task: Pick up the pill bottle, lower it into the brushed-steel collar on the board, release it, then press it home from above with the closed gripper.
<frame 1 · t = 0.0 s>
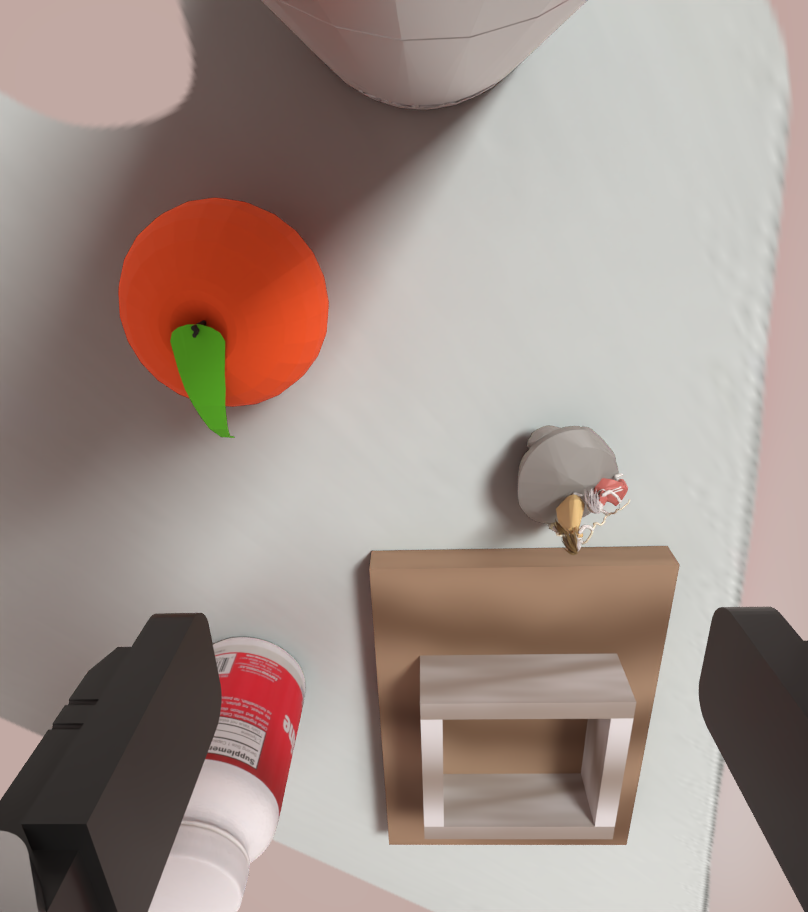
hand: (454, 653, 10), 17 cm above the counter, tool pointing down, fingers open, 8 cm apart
bottle holder: (510, 701, 34), on the counter
pill bottle: (251, 673, 34), on the counter
figurine: (559, 463, 28), on the counter
clementine: (255, 299, 25), on the counter
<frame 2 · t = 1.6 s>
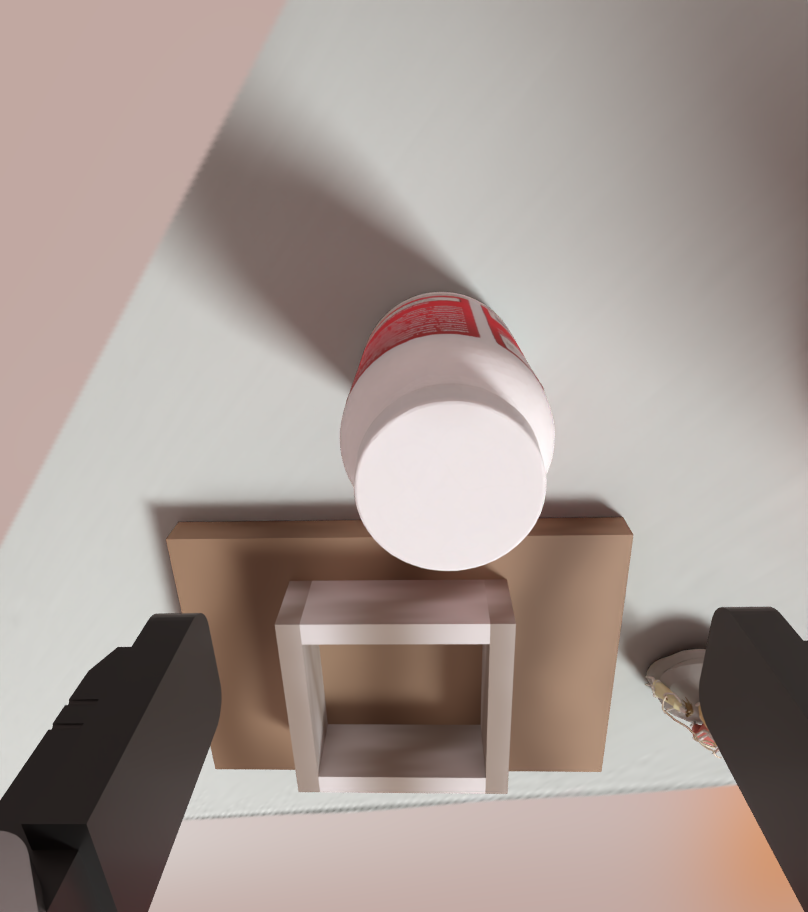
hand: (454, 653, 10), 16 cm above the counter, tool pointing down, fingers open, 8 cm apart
bottle holder: (402, 643, 31), on the counter
pill bottle: (440, 365, 25), on the counter
figurine: (689, 665, 31), on the counter
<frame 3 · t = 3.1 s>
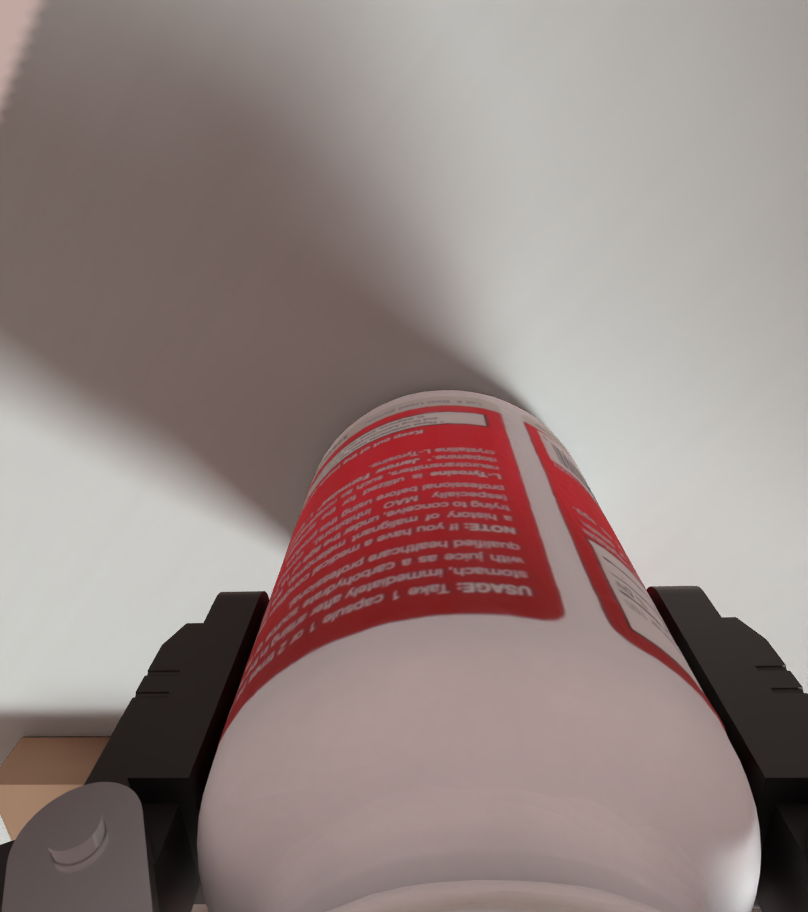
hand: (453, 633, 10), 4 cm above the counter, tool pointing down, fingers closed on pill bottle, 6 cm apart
bottle holder: (387, 895, 20), on the counter
pill bottle: (445, 506, 14), on the counter, touching gripper
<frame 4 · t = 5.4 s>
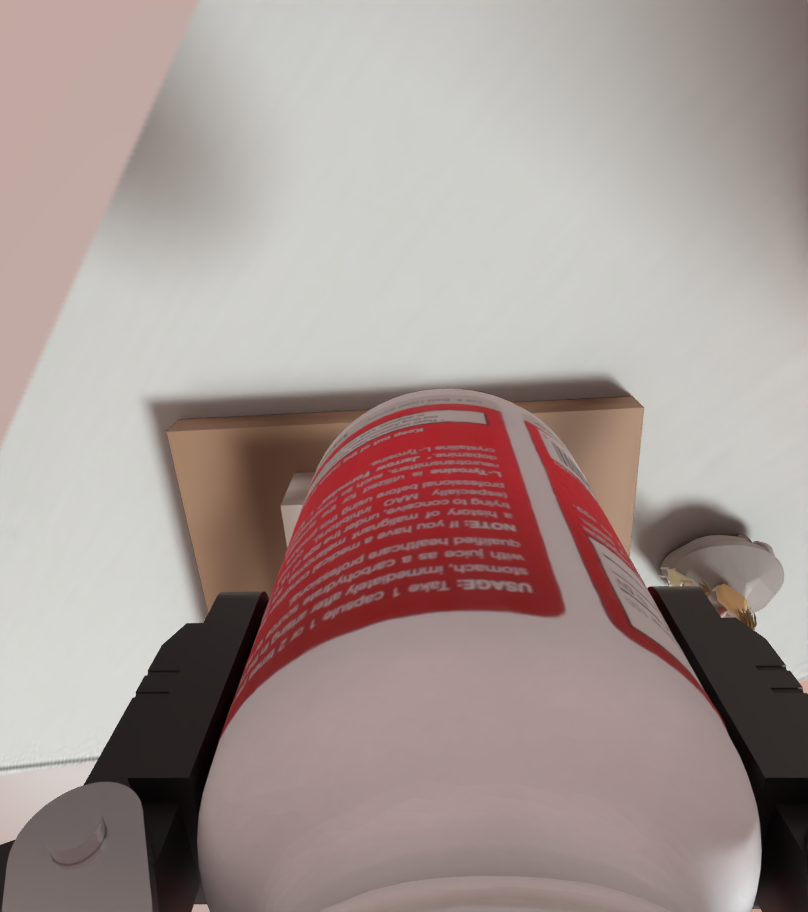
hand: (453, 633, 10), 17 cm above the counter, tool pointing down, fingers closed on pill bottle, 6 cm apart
bottle holder: (411, 544, 30), on the counter
pill bottle: (445, 505, 14), point 13 cm above the counter, touching gripper
figurine: (704, 558, 30), on the counter
when the fingers open (7 cm above the counter, at t = 8.1 s): pill bottle stays where it is, resting on bottle holder.
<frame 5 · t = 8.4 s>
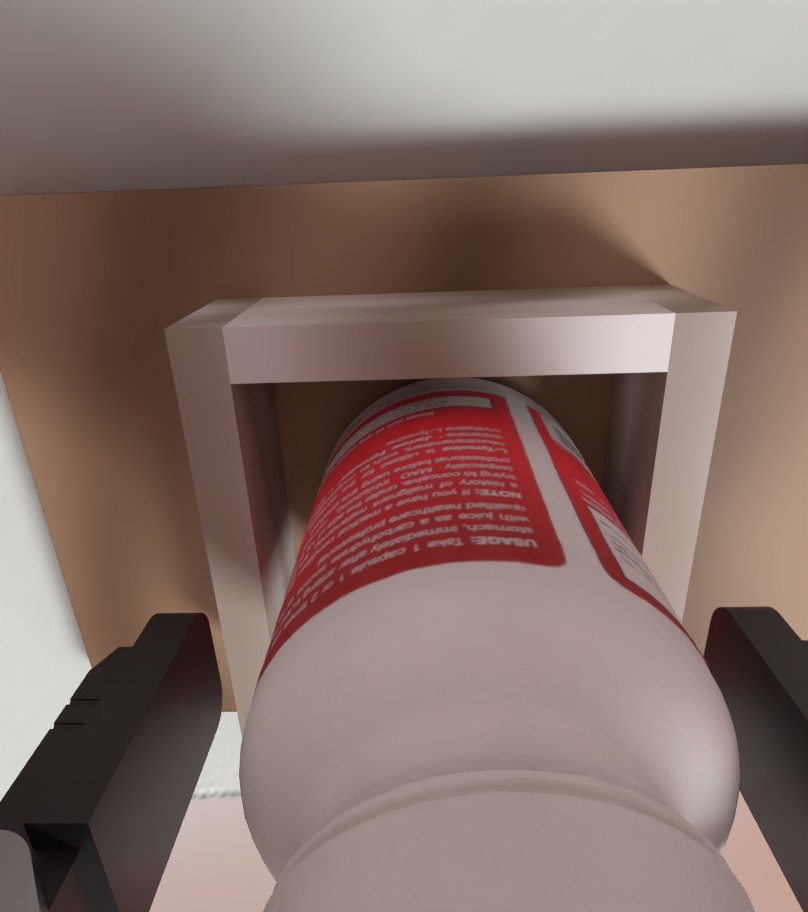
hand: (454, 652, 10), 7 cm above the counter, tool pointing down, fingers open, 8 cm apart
bottle holder: (441, 467, 16), on the counter
pill bottle: (452, 488, 15), point 1 cm above the counter, touching bottle holder
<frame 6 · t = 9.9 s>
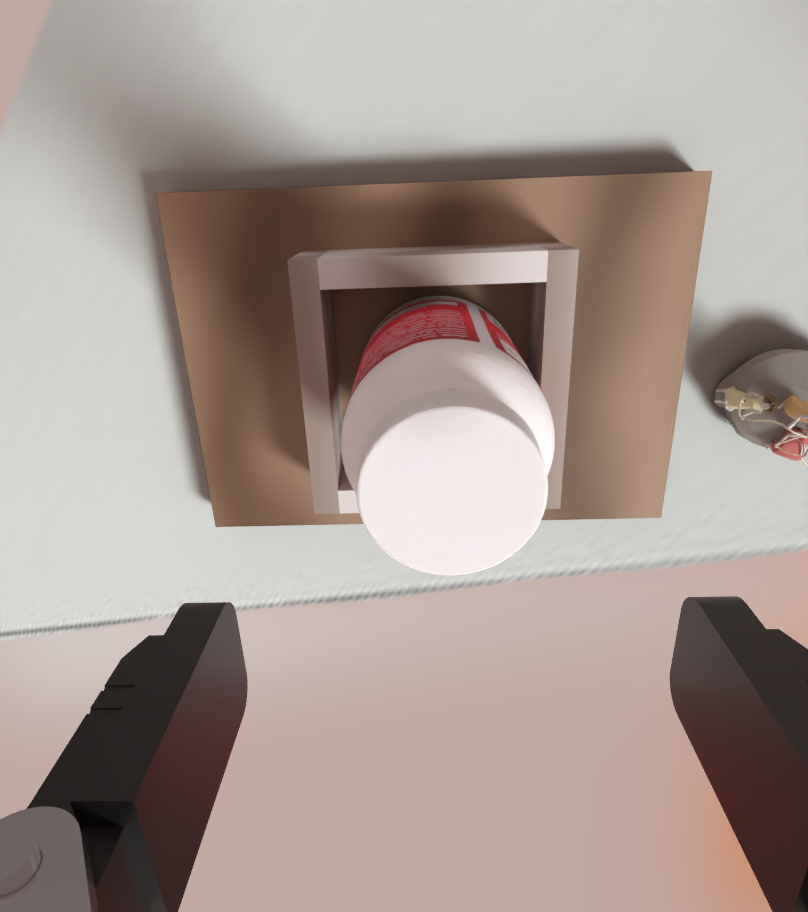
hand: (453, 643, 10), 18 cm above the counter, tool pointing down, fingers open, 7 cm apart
bottle holder: (432, 361, 26), on the counter
pill bottle: (438, 369, 25), point 1 cm above the counter, touching bottle holder
figurine: (763, 388, 27), on the counter
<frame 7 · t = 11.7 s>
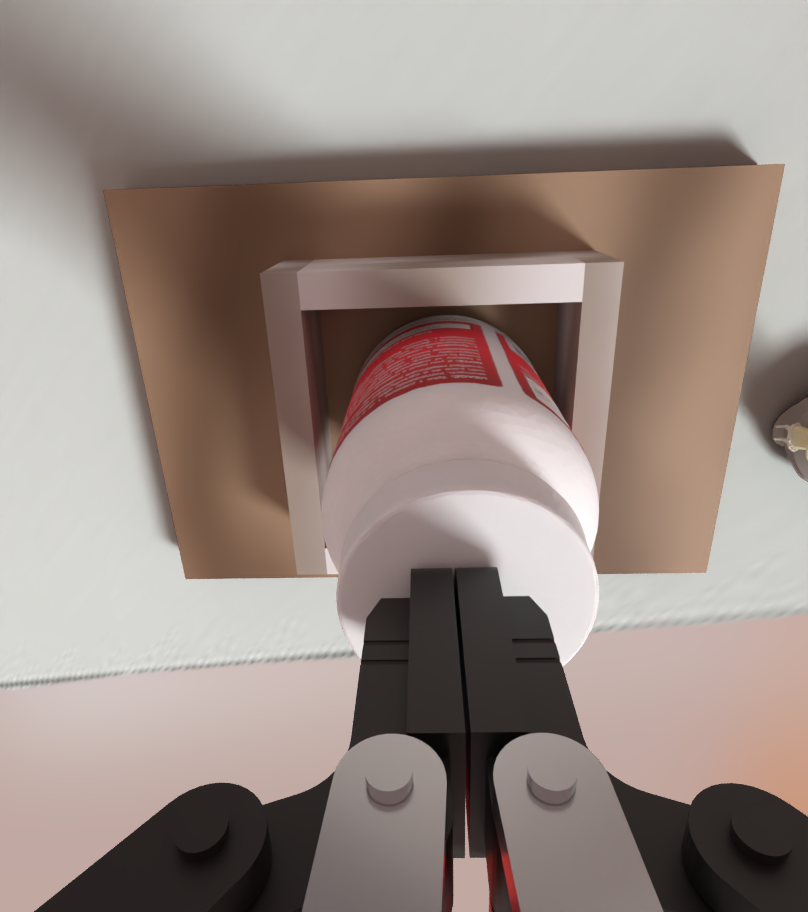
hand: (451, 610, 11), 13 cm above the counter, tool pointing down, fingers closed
bottle holder: (438, 389, 22), on the counter
pill bottle: (445, 400, 21), point 1 cm above the counter, touching bottle holder, gripper
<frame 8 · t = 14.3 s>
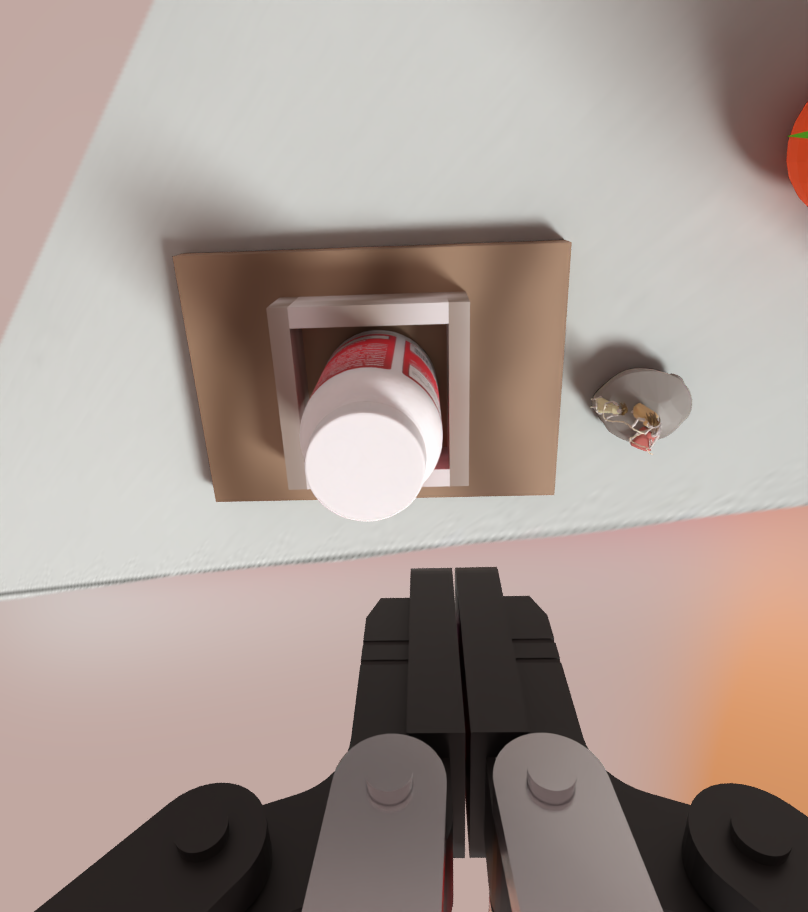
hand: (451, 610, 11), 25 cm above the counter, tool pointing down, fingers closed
bottle holder: (378, 376, 35), on the counter
pill bottle: (381, 382, 34), point 1 cm above the counter, touching bottle holder
figurine: (630, 397, 36), on the counter
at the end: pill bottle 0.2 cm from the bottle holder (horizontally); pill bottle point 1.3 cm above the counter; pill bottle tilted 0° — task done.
